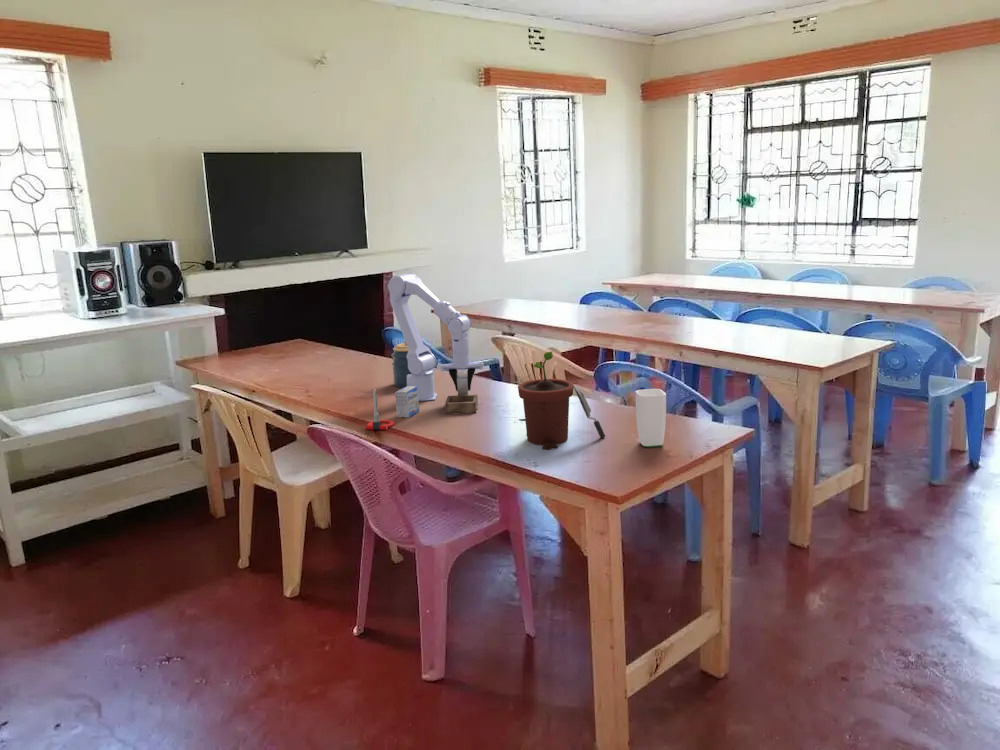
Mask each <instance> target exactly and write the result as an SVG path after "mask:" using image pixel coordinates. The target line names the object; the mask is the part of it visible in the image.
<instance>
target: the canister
mask: <svg viewBox="0 0 1000 750" xmlns="http://www.w3.org/2000/svg"><path fill="white" fill-rule="evenodd" d="M392 350H393V352H392V353H391V357H392V358H393V359H392V363H391V365H392V371H393V383H394V386H395V387H397V388H401V389H402V388H404V387H406V386H407V375H408V374H412V373H411V372H410V371H409V369H408V360H407V357H406V356H407V354H408V351H409V349H408V346H407V344H406V341H405V339H404V341H403V342H402V343H399V344H398V343H397V344H396V345H395V346H394V347H393V348H392ZM419 356H420V355H419Z"/></svg>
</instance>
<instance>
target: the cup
mask: <svg viewBox="0 0 1000 750" xmlns="http://www.w3.org/2000/svg"><path fill="white" fill-rule="evenodd" d="M635 415H636V417H635V418H636V419H635V420H636V428H637V429H636V430H637V436H638V442H639V443H640V444H641V445H642V447H644V448H645V447H646V448H651V447H654V448H655V447H661V446H662V445H663V444H664V441H665V431H666V423H667V422H666V420H667V418H666V417H667V393H666V392H665V391H664V390H662V389H660V388H646V389H645V388H644V389H637V390H635Z"/></svg>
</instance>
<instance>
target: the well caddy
mask: <svg viewBox="0 0 1000 750" xmlns="http://www.w3.org/2000/svg"><path fill="white" fill-rule="evenodd" d="M478 399H479V397H478V394H469V395H458V394H456V395H447V397H446V399H445V402H444V408H445V415H453V413H460V414H467V413H466V412H476V411H477V410H478V407H477V406H479V400H478ZM476 413H477V412H476Z"/></svg>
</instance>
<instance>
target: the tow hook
mask: <svg viewBox="0 0 1000 750" xmlns="http://www.w3.org/2000/svg"><path fill="white" fill-rule="evenodd" d="M372 391H373V392H372V393H373V394H372V395H373V396H372V401H373V402H372V403H373V421H370V422H368V423H367V425H366V426H365V429H366V430H367V431H369V430H370V431H387V430H388V428H392V427H393V426H394V425H396V424H395V421H394V420H392V419H391V420H390V419H380V415H379V414H380V413H379V411H378V410H379V408H378V396H377V390H376V388H373V389H372ZM388 423H389V424H388Z"/></svg>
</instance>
